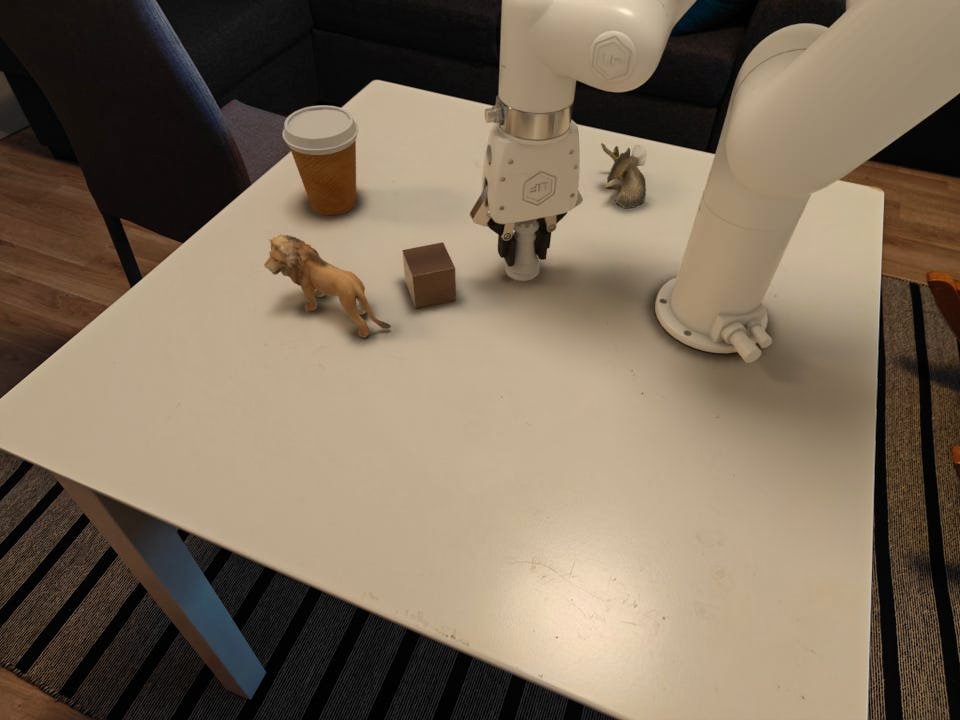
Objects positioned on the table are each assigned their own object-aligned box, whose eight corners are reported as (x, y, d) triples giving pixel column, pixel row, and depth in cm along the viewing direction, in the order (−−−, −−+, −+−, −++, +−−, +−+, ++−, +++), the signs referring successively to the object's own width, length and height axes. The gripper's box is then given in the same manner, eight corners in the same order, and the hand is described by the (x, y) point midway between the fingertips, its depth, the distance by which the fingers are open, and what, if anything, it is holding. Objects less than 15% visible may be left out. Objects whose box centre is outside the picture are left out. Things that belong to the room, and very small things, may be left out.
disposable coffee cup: (378, 189, 93) (368, 109, 84) (351, 227, 87) (338, 145, 78) (317, 178, 94) (301, 99, 85) (286, 215, 88) (266, 134, 79)
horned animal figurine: (583, 166, 95) (593, 190, 88) (615, 124, 92) (628, 146, 85) (622, 192, 98) (635, 218, 91) (654, 153, 94) (670, 177, 87)
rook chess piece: (499, 263, 82) (501, 210, 76) (532, 257, 83) (536, 204, 77) (510, 286, 79) (514, 232, 73) (545, 279, 80) (550, 226, 74)
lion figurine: (270, 308, 76) (251, 247, 69) (296, 281, 79) (280, 220, 73) (379, 345, 72) (370, 284, 65) (402, 315, 75) (396, 254, 69)
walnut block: (456, 300, 77) (455, 267, 73) (415, 308, 76) (412, 276, 72) (444, 274, 80) (443, 241, 77) (405, 282, 79) (402, 249, 76)
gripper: (468, 144, 61) (467, 289, 75) (625, 119, 65) (597, 262, 79) (446, 107, 66) (449, 250, 80) (593, 86, 70) (572, 226, 83)
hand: (523, 255), depth 79 cm, fingers closed on rook chess piece, 3 cm apart
